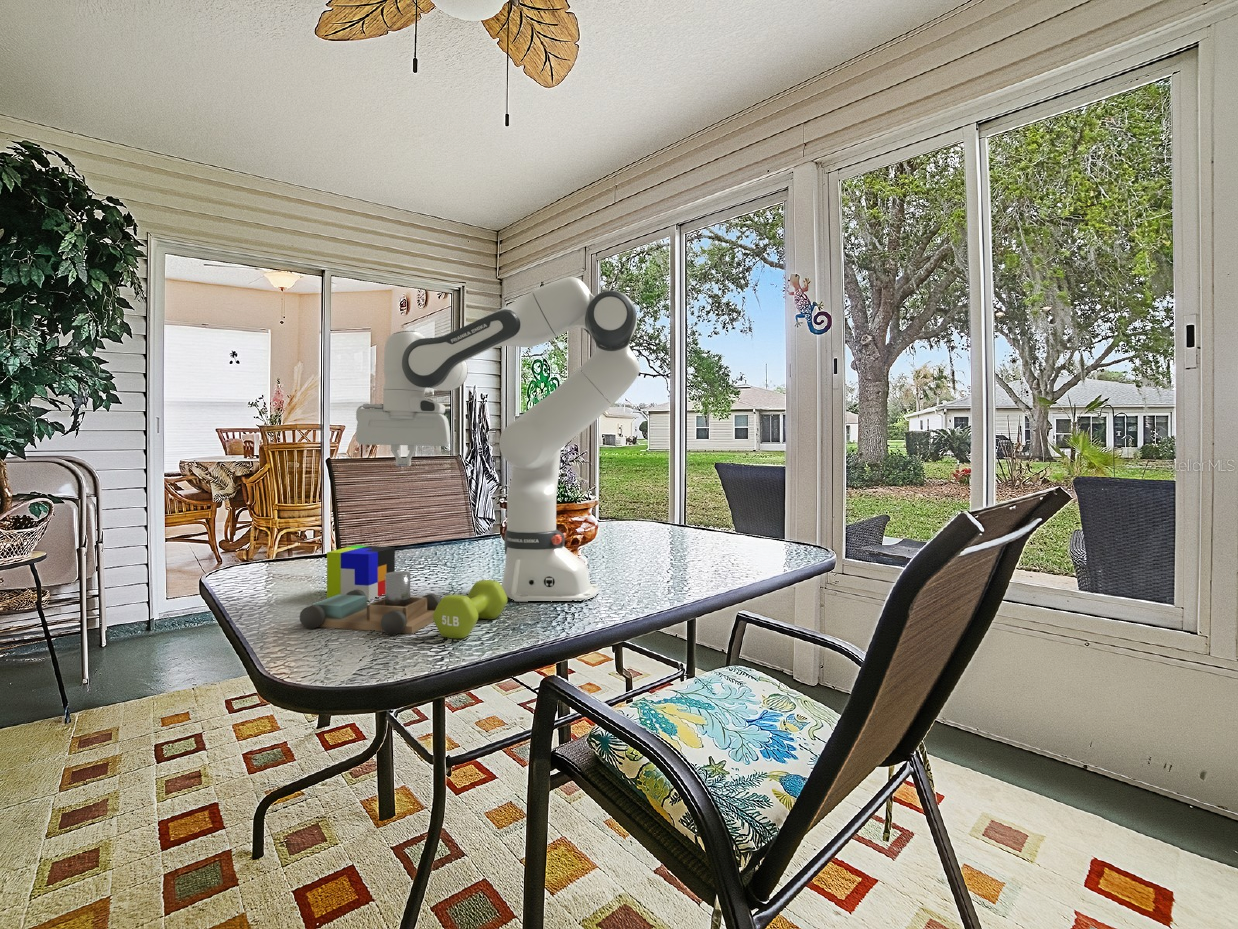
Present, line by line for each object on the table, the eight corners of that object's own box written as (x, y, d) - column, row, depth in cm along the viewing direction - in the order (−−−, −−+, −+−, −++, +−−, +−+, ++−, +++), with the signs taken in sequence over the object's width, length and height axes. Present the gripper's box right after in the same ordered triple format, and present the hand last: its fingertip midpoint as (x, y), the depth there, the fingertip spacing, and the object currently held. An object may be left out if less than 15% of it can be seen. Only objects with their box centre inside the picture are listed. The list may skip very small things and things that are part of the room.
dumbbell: (470, 642, 104) (471, 599, 104) (428, 638, 106) (428, 596, 106) (510, 617, 120) (510, 580, 120) (473, 614, 122) (473, 577, 122)
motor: (415, 614, 117) (415, 571, 117) (402, 620, 112) (402, 576, 112) (393, 612, 118) (393, 570, 118) (379, 618, 113) (379, 575, 113)
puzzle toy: (368, 601, 132) (368, 554, 131) (326, 598, 134) (326, 552, 133) (394, 590, 141) (394, 547, 141) (355, 588, 143) (355, 545, 143)
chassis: (445, 614, 121) (445, 594, 121) (407, 636, 107) (407, 613, 107) (344, 608, 125) (344, 588, 125) (294, 628, 111) (294, 606, 111)
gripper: (351, 402, 135) (350, 465, 136) (446, 404, 137) (446, 467, 138) (360, 404, 142) (360, 464, 142) (452, 406, 144) (451, 466, 144)
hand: (403, 465), depth 140 cm, fingers closed
